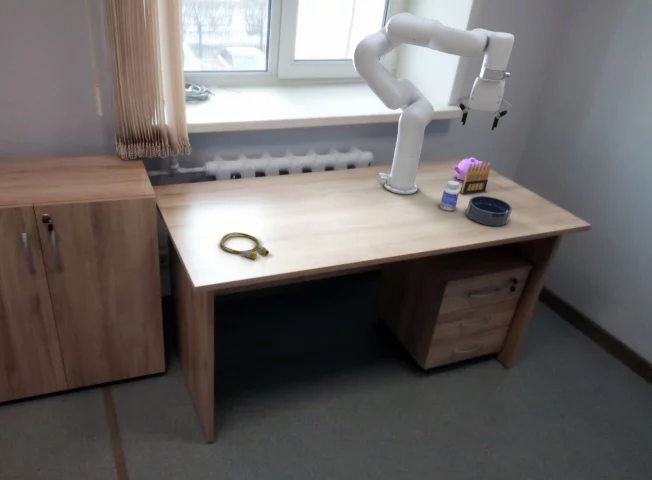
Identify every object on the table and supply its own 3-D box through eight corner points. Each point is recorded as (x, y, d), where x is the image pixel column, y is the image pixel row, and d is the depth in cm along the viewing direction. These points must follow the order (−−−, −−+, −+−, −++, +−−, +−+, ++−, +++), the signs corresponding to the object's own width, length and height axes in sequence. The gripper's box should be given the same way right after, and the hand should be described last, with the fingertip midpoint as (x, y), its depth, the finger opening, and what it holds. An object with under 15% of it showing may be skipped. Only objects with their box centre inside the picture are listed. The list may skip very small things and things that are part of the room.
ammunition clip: (462, 194, 202) (470, 164, 196) (459, 192, 204) (467, 162, 197) (485, 191, 206) (493, 162, 199) (481, 189, 207) (490, 160, 201)
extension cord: (230, 263, 150) (230, 257, 149) (216, 237, 163) (216, 232, 162) (270, 258, 154) (270, 252, 153) (253, 233, 167) (253, 227, 165)
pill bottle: (455, 211, 189) (462, 186, 183) (440, 209, 189) (446, 184, 184) (454, 205, 193) (460, 180, 188) (439, 203, 194) (445, 178, 188)
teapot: (488, 184, 213) (495, 162, 207) (456, 186, 208) (462, 164, 203) (473, 174, 221) (479, 152, 216) (442, 176, 217) (447, 154, 211)
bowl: (463, 220, 183) (467, 207, 180) (468, 205, 194) (471, 192, 191) (506, 230, 179) (510, 217, 176) (508, 214, 190) (512, 201, 187)
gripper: (520, 76, 171) (505, 128, 181) (466, 68, 176) (453, 119, 186) (519, 80, 165) (503, 134, 175) (463, 72, 171) (450, 125, 180)
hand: (478, 126), depth 180 cm, fingers open, 9 cm apart
